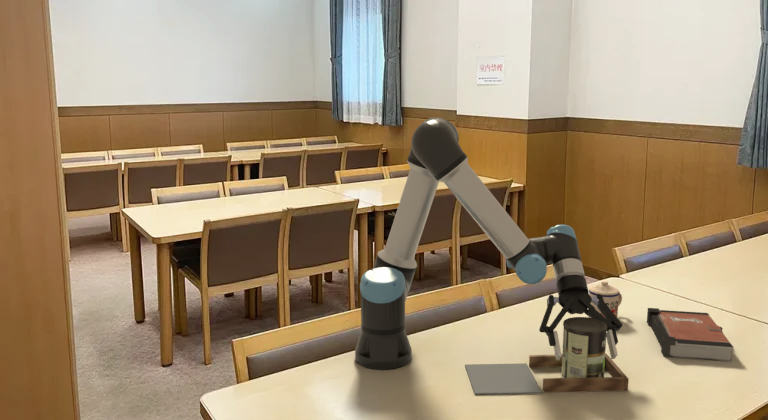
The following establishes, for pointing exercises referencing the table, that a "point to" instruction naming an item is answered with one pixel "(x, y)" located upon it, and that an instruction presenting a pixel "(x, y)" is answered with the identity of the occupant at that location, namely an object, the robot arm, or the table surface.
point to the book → (689, 335)
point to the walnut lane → (580, 384)
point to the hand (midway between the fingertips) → (586, 357)
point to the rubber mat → (502, 379)
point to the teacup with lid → (606, 296)
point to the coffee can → (583, 348)
